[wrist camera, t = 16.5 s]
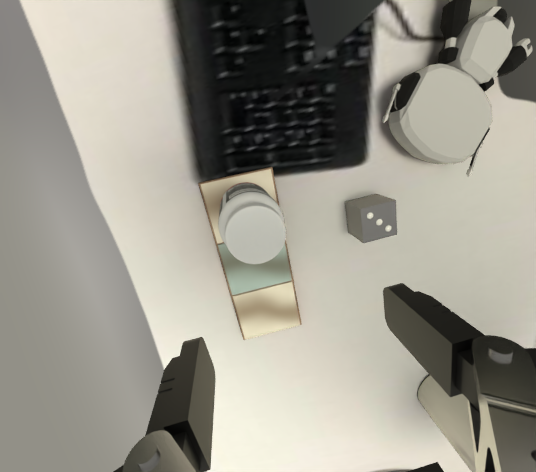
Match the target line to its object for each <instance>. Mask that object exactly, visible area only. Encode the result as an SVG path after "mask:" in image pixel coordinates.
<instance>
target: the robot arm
mask: <svg viewBox="0 0 536 472" xmlns="http://www.w3.org/2000/svg"><path fill="white" fill-rule="evenodd" d="M383 296H384V310H385V319H386V322H387V325H388V327H389V329H390V330H391V331H392V333H393V334H394V335H395V336H396V337H397V338H398V339H399V340H400V342H401V343H402V344H403V345H404V346H405V347H406V348H407V349H408V351H409V352H410V353H411V354H412V355H413V356H414V357H415V358H416V360H417V361H418V362H419V363H420V364H421V365H422V366H423V367H424V369H425V370H426V371H427V372H428V373H429V374H430V375H429V376H428V377H427V378H426V379H425V380H424V381H423V383H422V384H421V386H420V388H419V391H418V399H419V401H420V403H421V404H422V405H423V407H424V408H425V409H426V411H427V413H428V414H429V415H430V417H431V418H432V419H433V421H434V422H435V423H436V425H437V426H438V427H439V429H440V430H441V431H442V433H443V434H444V435H445V437H446V438H447V439H448V441H449V442H450V443H451V445H452V446H453V447H454V449H455V450H456V451H457V453H458V454H459V456H460V457H461V458H462V460H463V461H464V462H465V464H466V465H467V466H468V468H469V469H470V470H471V471H472V472H536V348H527V349H526V348H523V347H522V346H520V345H519V344H517V343H515V342H513V341H511V340H508V339H506V338H502V337H498V336H490V335H486V336H485V335H484V334H482V333H481V332H480V331H478V330H477V329H475V328H474V327H473V326H471V325H470V324H469V323H467V322H466V321H464V320H463V319H462V318H460V317H459V316H458V315H456V314H455V313H454V312H451V311H450V310H449V309H448V308H447V307H445V306H442V304H441V303H440V302H438V301H437V300H436V299H434V298H433V297H432V296H429V295H426V294H424V293H421V292H419V291H417V292H414V291H412V290H411V289H410V288H408V287H407V286H406V285H404V284H402V283H400V284H397V285H393V286H389V287H386V288H384V290H383ZM214 395H215V371H214V366H213V363H212V360H211V358H210V355H209V352H208V350H207V347H206V344H205V341H204V339H203V338H202V337H200V338H196V339H192V340H188V341H185V342H183V345H182V349H181V353H180V356H179V357H175V358H172V360H171V361H170V363H169V364H168V365H167V367H166V368H165V370H164V373H163V377H162V380H161V384H160V387H159V390H158V395H157V398H156V401H155V405H154V408H153V411H152V415H151V418H150V421H149V425H148V429H147V432H146V435H145V437H143V438H142V439H141V440H140V441H139V442H138V443H137V444H136V445H135V446H134V447H133V448H132V450H131V451H130V453H129V454H128V456H127V458H126V460H125V463H124V465H123V466H121V467H120V468H118V469H117V470H115V471H114V472H204V471H207V470H210V465H211V448H212V430H213V412H214ZM408 472H444V471H443V470H442V468H441V467H440V465H439V464H438V462H436V463H433V464H430V465H427V466H424V467H420V468H417V469H414V470H411V471H408Z"/></svg>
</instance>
